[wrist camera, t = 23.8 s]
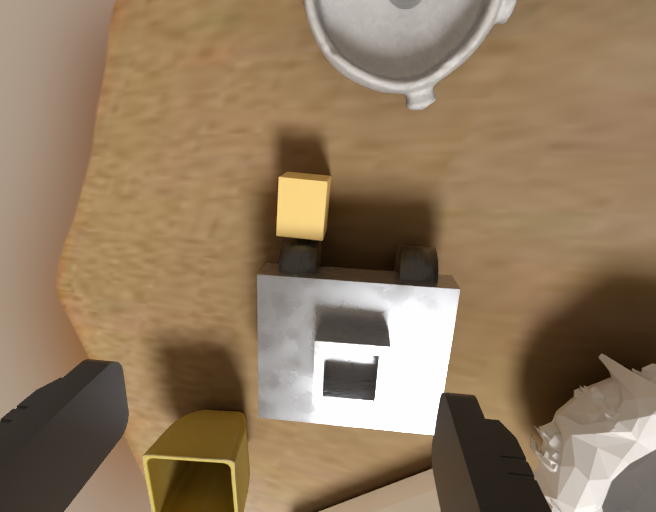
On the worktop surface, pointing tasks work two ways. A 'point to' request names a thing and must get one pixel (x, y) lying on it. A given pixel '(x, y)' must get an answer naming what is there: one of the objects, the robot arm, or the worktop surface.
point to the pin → (405, 3)
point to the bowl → (602, 446)
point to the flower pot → (200, 464)
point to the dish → (402, 40)
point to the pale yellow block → (303, 205)
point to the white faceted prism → (396, 497)
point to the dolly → (354, 339)
